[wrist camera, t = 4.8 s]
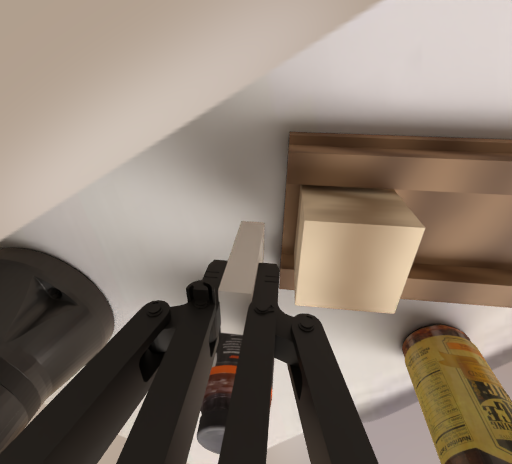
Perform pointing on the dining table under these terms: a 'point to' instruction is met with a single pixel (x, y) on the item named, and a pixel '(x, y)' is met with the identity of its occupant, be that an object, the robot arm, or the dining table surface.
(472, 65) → the dining table surface
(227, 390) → the supplement bottle
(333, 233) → the block
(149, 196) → the dining table surface
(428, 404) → the sauce bottle
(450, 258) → the walnut chute
